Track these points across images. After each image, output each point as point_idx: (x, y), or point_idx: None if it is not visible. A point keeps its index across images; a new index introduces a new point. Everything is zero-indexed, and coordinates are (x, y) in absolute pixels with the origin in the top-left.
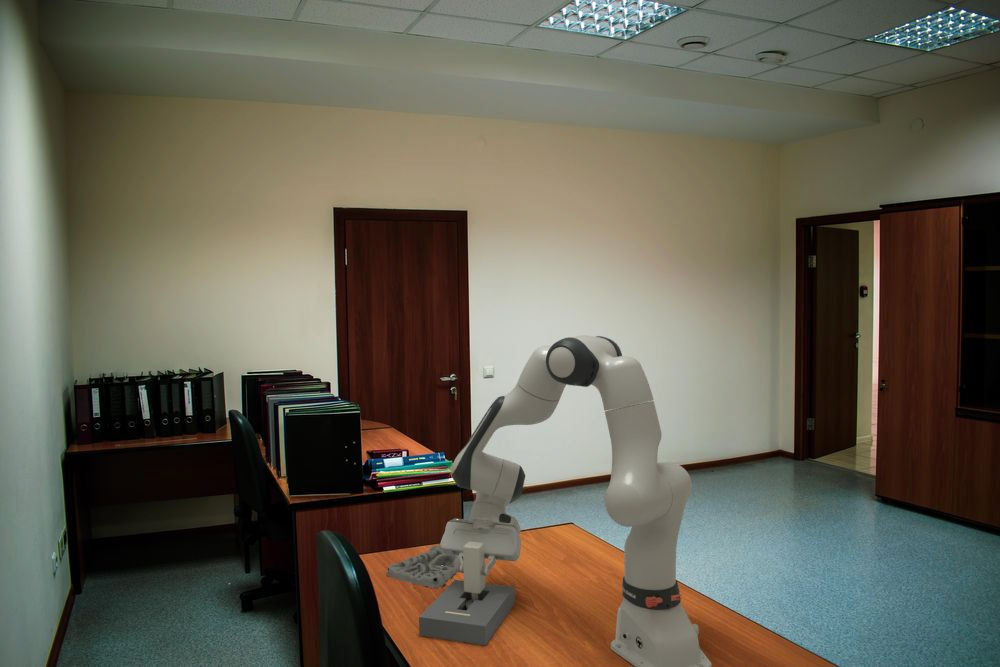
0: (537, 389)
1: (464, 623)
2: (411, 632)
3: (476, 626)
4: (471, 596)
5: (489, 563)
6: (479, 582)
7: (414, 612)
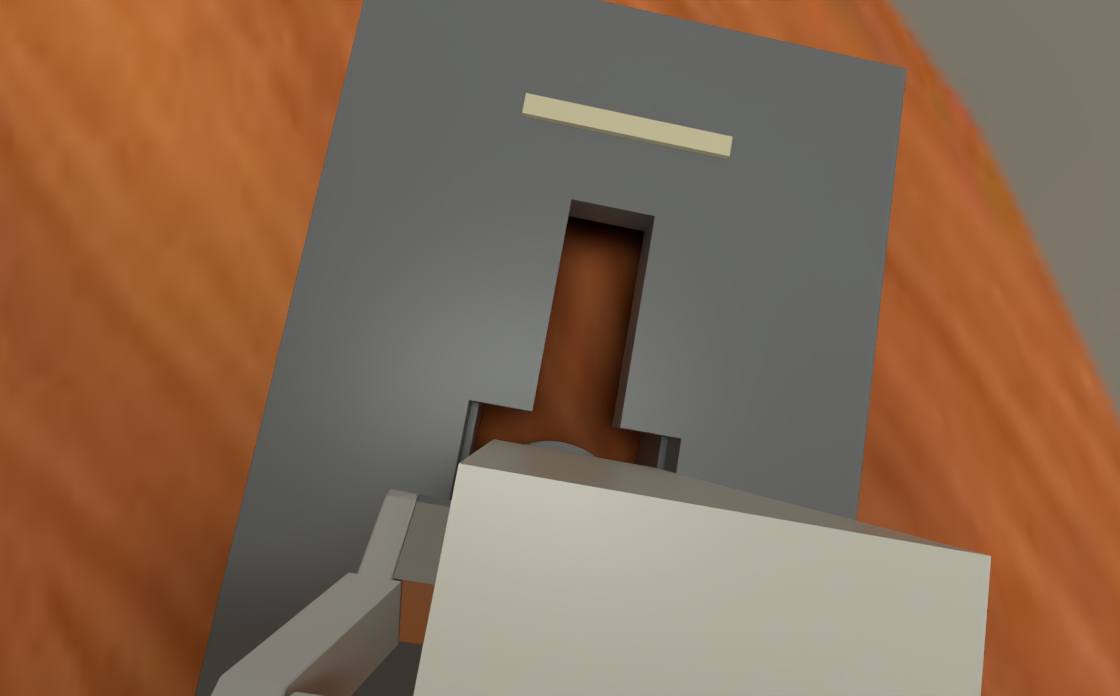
0: None
1: None
2: None
3: None
4: None
5: (317, 612)
6: (491, 441)
7: (963, 452)
